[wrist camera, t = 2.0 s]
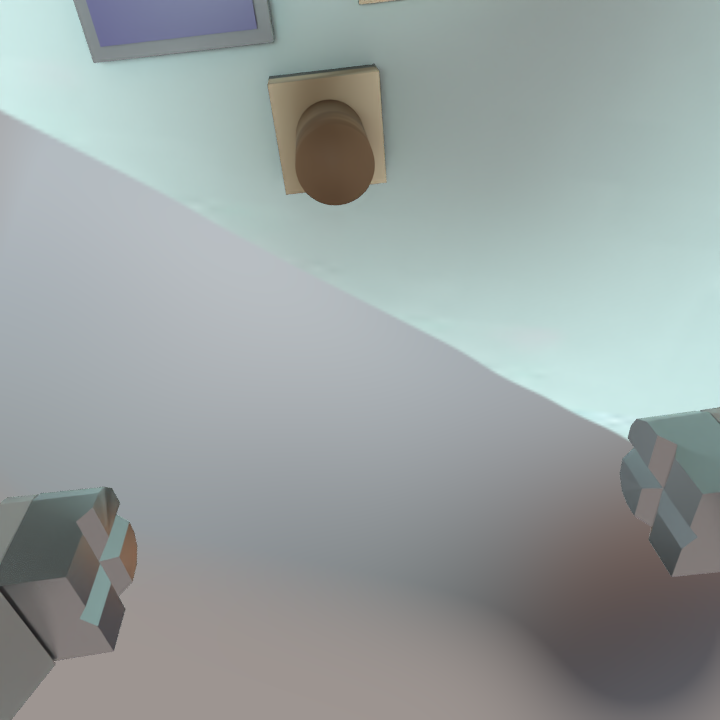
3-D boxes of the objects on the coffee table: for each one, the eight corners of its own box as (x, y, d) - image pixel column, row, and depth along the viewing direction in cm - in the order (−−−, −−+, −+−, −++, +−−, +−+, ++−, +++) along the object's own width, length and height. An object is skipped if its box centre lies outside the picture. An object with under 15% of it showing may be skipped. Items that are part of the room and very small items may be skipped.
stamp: (374, 64, 27) (393, 91, 22) (381, 169, 30) (400, 218, 24) (269, 76, 27) (261, 107, 21) (287, 180, 30) (283, 232, 24)
